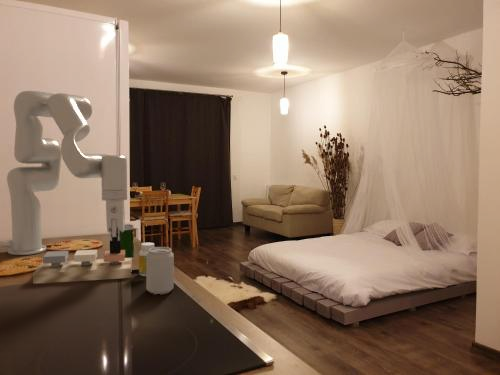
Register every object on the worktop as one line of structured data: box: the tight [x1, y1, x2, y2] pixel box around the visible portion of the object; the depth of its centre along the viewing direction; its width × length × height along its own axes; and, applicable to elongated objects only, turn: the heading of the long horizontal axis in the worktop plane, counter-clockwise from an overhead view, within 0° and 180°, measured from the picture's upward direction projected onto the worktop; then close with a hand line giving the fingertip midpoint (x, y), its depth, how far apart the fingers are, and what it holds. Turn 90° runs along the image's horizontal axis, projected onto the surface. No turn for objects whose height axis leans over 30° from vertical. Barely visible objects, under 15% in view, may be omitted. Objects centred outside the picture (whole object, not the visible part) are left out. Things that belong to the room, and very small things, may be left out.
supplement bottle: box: [138, 242, 155, 277], centre depth 125 cm, size 5×5×10 cm
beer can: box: [120, 223, 135, 260], centre depth 141 cm, size 5×5×12 cm
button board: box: [32, 258, 133, 285], centre depth 123 cm, size 27×12×3 cm, turn 106°
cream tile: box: [73, 249, 98, 265], centre depth 123 cm, size 6×6×4 cm
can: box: [145, 246, 175, 295], centre depth 111 cm, size 8×8×12 cm
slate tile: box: [42, 250, 69, 267], centre depth 121 cm, size 6×6×4 cm
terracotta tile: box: [103, 250, 125, 265], centre depth 125 cm, size 6×6×4 cm
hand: (115, 252), depth 125 cm, fingers closed
